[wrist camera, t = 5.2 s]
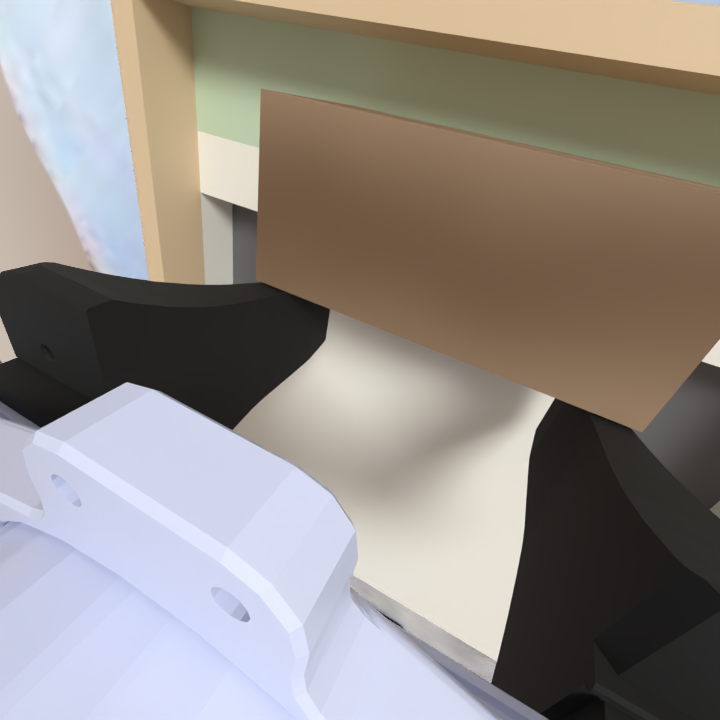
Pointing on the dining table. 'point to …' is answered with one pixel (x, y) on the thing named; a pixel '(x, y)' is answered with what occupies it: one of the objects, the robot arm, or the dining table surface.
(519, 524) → the shallow cream tray
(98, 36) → the dining table surface
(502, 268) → the walnut block
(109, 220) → the dining table surface
